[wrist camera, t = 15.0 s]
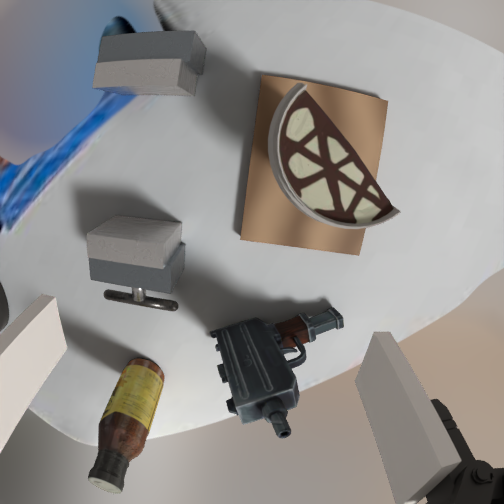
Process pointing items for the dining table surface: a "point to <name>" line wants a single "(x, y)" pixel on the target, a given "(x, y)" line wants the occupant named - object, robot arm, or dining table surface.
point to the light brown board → (267, 189)
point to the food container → (322, 167)
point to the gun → (267, 364)
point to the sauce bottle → (126, 423)
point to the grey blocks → (132, 228)
